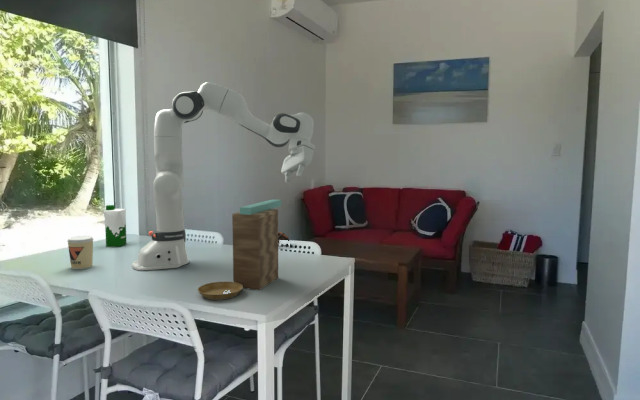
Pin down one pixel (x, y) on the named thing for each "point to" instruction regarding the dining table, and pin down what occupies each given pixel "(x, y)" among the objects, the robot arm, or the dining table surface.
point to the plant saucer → (220, 290)
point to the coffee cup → (81, 252)
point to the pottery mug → (282, 237)
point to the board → (259, 207)
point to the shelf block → (255, 248)
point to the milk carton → (115, 226)
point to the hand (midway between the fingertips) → (292, 179)
